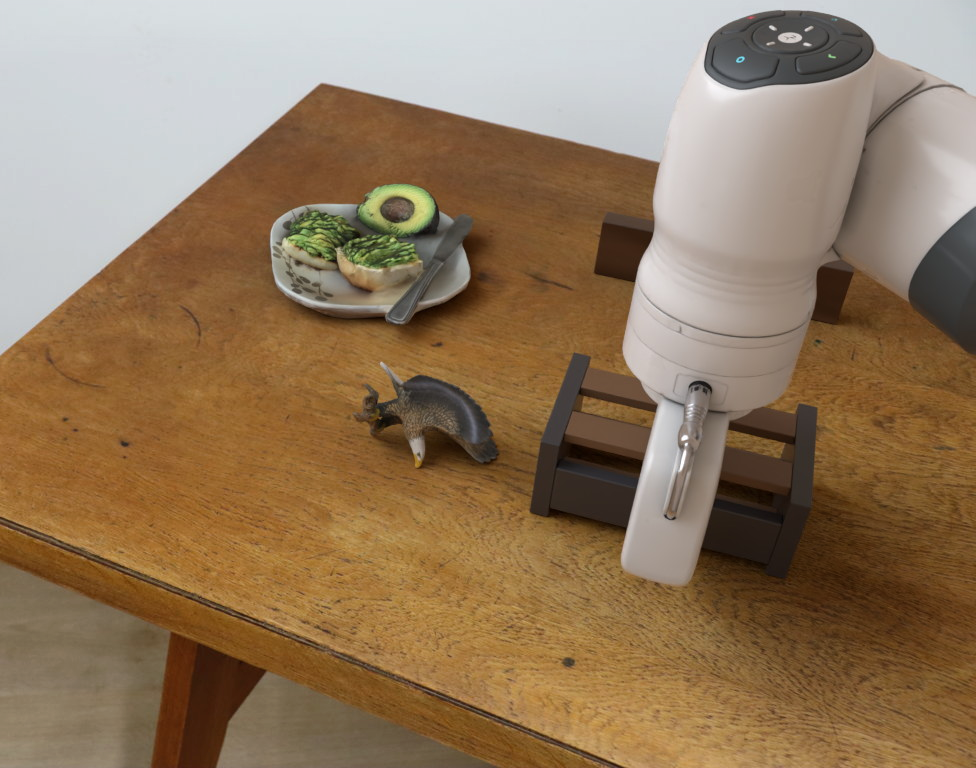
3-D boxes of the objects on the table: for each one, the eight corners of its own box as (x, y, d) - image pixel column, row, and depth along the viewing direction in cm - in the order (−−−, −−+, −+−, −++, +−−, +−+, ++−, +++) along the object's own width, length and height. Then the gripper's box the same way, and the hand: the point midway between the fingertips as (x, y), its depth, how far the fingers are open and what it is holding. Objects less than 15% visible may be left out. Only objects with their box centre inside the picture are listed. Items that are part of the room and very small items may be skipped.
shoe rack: (562, 420, 79) (573, 351, 75) (793, 476, 75) (817, 407, 71) (529, 512, 71) (540, 441, 67) (785, 579, 67) (811, 508, 64)
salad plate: (500, 340, 86) (506, 290, 83) (269, 344, 84) (267, 293, 82) (466, 218, 101) (470, 172, 99) (269, 219, 100) (268, 172, 97)
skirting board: (598, 262, 96) (607, 210, 93) (836, 312, 91) (854, 260, 88) (593, 273, 95) (602, 221, 92) (836, 324, 90) (854, 272, 87)
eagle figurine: (354, 476, 71) (494, 473, 70) (348, 366, 71) (488, 359, 69) (378, 460, 79) (504, 456, 77) (372, 360, 78) (499, 354, 77)
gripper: (757, 475, 49) (693, 673, 58) (785, 256, 65) (732, 437, 73) (617, 440, 51) (574, 638, 59) (677, 234, 66) (637, 414, 75)
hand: (662, 525), depth 66 cm, fingers closed
